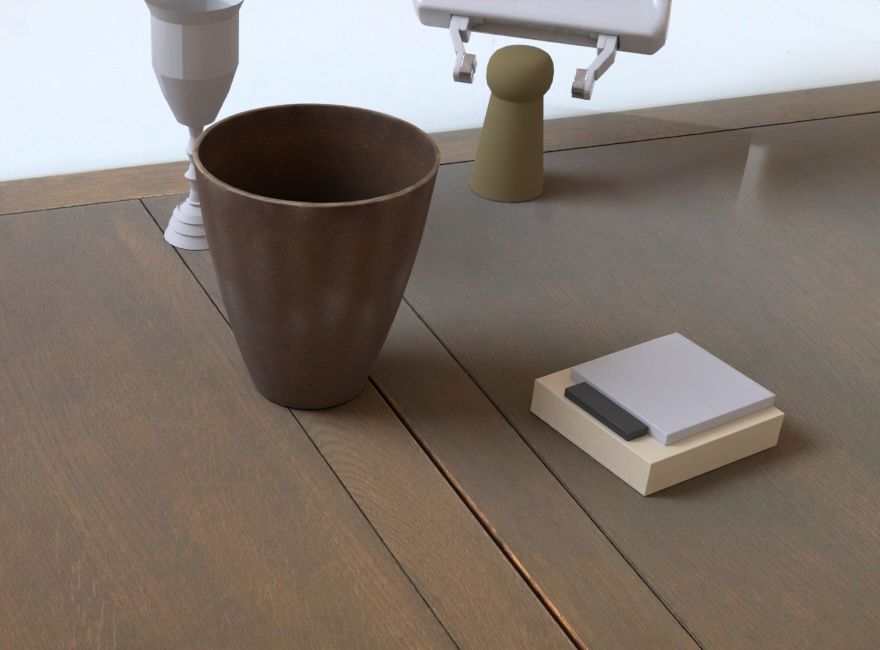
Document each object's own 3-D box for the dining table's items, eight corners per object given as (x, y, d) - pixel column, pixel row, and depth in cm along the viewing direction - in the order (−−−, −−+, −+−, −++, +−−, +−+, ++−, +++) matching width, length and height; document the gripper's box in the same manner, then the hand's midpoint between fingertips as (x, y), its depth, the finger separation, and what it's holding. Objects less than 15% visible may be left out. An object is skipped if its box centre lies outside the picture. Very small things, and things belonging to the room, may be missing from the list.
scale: (657, 366, 107) (666, 324, 104) (776, 445, 99) (788, 402, 97) (529, 411, 102) (536, 368, 100) (644, 496, 95) (653, 452, 93)
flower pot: (158, 353, 107) (151, 126, 97) (347, 305, 113) (359, 85, 102) (260, 465, 97) (265, 225, 87) (462, 406, 103) (489, 173, 92)
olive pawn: (535, 207, 125) (554, 69, 118) (461, 195, 126) (475, 59, 119) (549, 176, 129) (568, 41, 122) (477, 165, 131) (492, 31, 123)
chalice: (226, 208, 124) (226, -27, 112) (257, 246, 119) (261, 4, 108) (138, 223, 122) (129, -15, 110) (166, 261, 117) (160, 17, 106)
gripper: (429, -116, 124) (387, 52, 123) (692, -87, 119) (650, 87, 118) (437, -73, 130) (398, 87, 129) (688, -44, 125) (648, 122, 124)
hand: (520, 88), depth 124 cm, fingers open, 8 cm apart
